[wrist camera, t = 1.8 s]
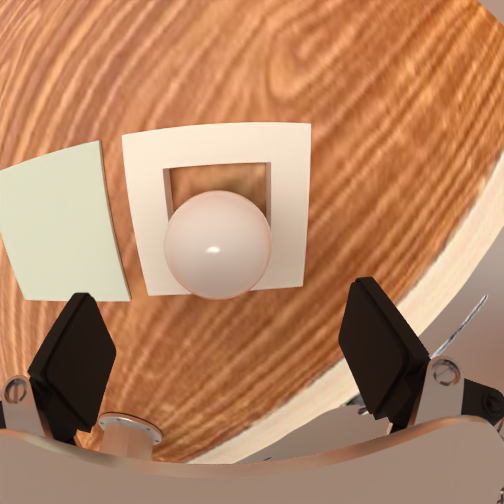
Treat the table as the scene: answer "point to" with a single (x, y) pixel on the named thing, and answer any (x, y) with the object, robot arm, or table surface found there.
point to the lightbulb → (218, 245)
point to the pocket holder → (221, 152)
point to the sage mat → (61, 226)
